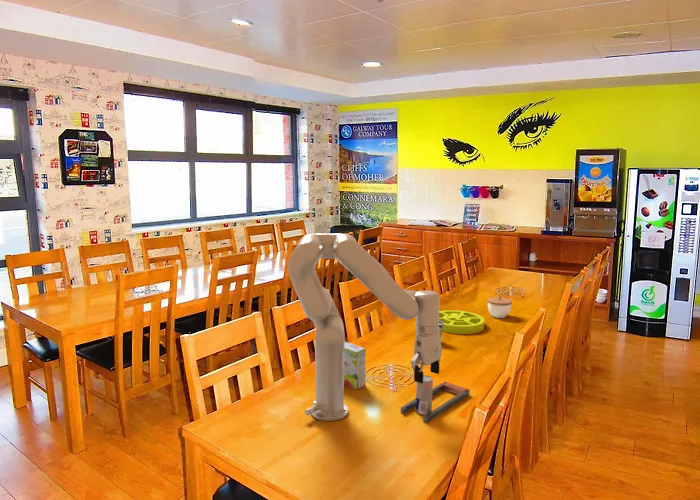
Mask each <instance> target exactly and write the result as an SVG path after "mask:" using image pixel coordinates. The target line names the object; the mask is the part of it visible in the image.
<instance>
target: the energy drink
mask: <svg viewBox="0 0 700 500" xmlns="http://www.w3.org/2000/svg"><path fill="white" fill-rule="evenodd" d="M433 385H434V381H433V377H432V376H429V375H424V374H423V383H422V384H421V383H418V382H416V387H415V388H416V389H415V390H416V392H415V399H416V407H415V411H416V413H417V414H418V415H422V416H425V415H427V414H428V413H430V412H431V411H433V408H432V407H433V396H432V389H433V388H434V387H433Z"/></svg>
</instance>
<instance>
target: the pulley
mask: <svg viewBox="0 0 700 500" xmlns="http://www.w3.org/2000/svg"><path fill="white" fill-rule="evenodd" d="M439 320H440V321H442V322H443V324H444V328H442V333H443V332H444V333H447V334H448V333H449V334H450V333H451V334H455V335H458V334H459V335H469V334H476V333H477V334H478V333H479V332H481V331H483V330H484V329H485V318H484V317H483V316H481V315H480V314H477V313H474V312H471V311H464V310H456V309H455V310H452V309H449V310H439Z"/></svg>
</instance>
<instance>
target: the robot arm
mask: <svg viewBox="0 0 700 500" xmlns="http://www.w3.org/2000/svg"><path fill="white" fill-rule="evenodd" d="M321 259H336V260H337V262H339V264H341V265H342V266H343V267H344V268H345V269H346V270H347V271H348V272H350V274H352V275H353V276H354V277H355V278H356V279H357V280H359V282H361V284H362V285H364V286H365V288H366V289H368V290H369V291H370V292H371V293H372V294H373V295H374V296H376V297H377V299H378V300H379V301H380V302H381V303H382V304H383V305H384V306H385V307H387V309H388V310H390V311H391V312H392V313H393V314H395V316H397V317H398V318H399V319H402V320H404V321H410V320H412V319H414V318H415V333H416V334H415V338H414V349H413V350H414V351H413V357H412V358H411V360H410V365H411V368H412V370H413V378H414V379H413V381H414V382H415V383H417V382H418V383H421V384H422V383H423V375H424V371H423V369H424V367H425V366H429V365H430V369H429V370H430V373H433V374H437V375H439V374H440V362H441V358H442V353H443V352H442V351H443V346H442V336H441V337H440V332H439V311H440V296H439V293H438V292H437V291H434V290H421V291H420V290H419V291H418V290H411V289H404V288H402V287H401V286H400V285H399V284H398V283H397V282H396V281H395V279H394V278H393V277H392V275H390V274H389V271H387V269H386V268H385V267H384V266H383V264H381V263H380V262H379V261H378V260H377V259H376V258H374V257H373V256H372V254H370V253H369V251H367V250H366V249H365V248H364V247H362V246H361V245H360V244H359V243H358V241H357V239H356V238H355V237H354V236H353V235H351V234H348V233H308V234H306V235H303V236H302V237H301V238H300V239H299V240H298V243H297V245H296V247H295V248H294V250H292V253H291V254H290V256H289V258H288V263H287V272H288V273H287V274H288V277H289V279H290V282H291V284H292V286H293V289H294V291H295V294H296V296H297V298H298V300H299V302H300V306H301V308H302V311H303V313H304V315H305V316H306V317H307V318H308V319H309V320H311V322H312V323H313V325H314V328H315V330H314V331H315V334H314V350H315V351H314V355H315V356H314V369H315V373H314V374H315V379H314V382H315V385H314V386H315V389H314V390H315V393H314V394H315V400H314V401H313V402H312V405H311V407H309V408H307V409H305V410H304V413H305V415H306V416H310V415H311V416H312V417H313V418H315V419H317V420H320V421H324V422H326V421H327V422H332V421H333V422H334V421H338V420H341V419H343V418H346V416H347V415H348V414H349V407H348V406H347V404H345V403H344V401H345V399H344V398H345V385H344V347H345V342H346V340H345V339H346V338H345V337H346V336H345V328H344V327H345V326H344V322H343V319H342V318H341V315H340V312H339V311H338V308H337V306H336V303H335V302H334V299H333V297H332V295H331V293H330V292H329V290H328V289H327V288H325V287H324V286H322V283H321V281H320V278H319V275H318V274H317V272H316V265H317V263H319V261H320V260H321ZM419 365H420V366H419Z"/></svg>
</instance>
